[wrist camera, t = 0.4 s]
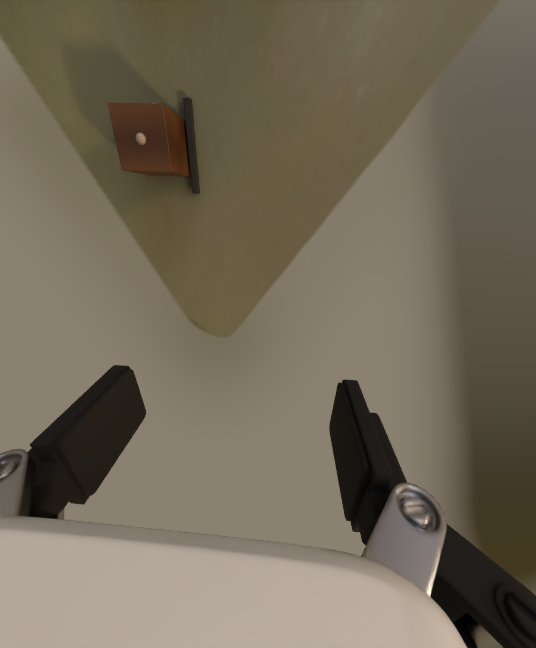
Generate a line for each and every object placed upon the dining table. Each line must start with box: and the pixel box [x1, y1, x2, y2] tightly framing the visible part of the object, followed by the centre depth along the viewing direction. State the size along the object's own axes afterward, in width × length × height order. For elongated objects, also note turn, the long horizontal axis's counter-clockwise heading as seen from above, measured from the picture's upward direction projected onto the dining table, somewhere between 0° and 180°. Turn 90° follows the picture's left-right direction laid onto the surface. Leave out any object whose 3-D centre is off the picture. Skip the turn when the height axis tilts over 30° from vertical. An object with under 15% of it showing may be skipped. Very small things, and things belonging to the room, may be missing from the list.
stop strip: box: [183, 98, 200, 194], centre depth 31 cm, size 10×1×1 cm, turn 178°
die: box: [108, 103, 190, 177], centre depth 28 cm, size 6×6×6 cm
